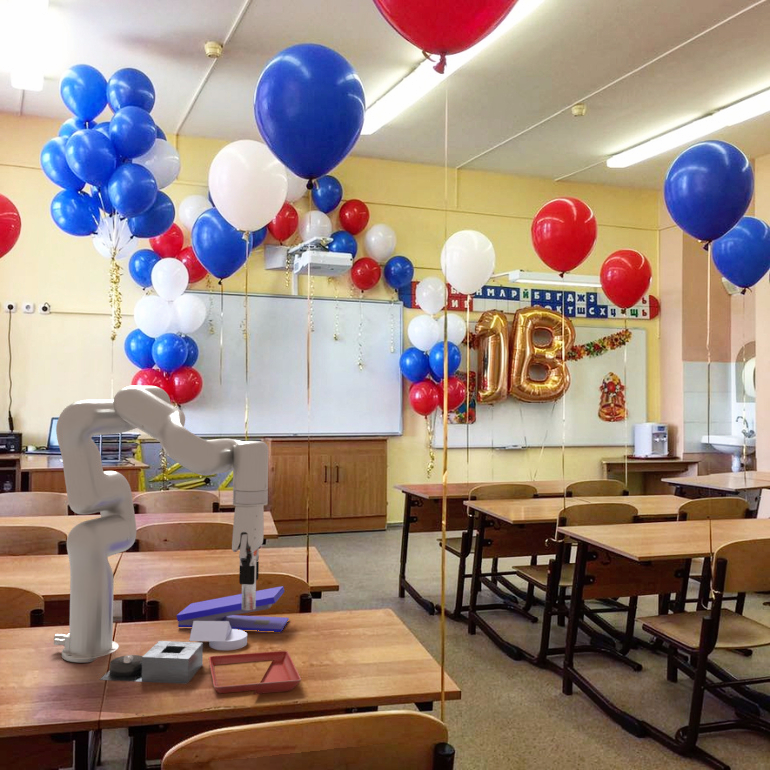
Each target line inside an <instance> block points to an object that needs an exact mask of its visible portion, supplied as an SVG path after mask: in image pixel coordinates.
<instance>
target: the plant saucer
mask: <svg viewBox="0 0 770 770" xmlns="http://www.w3.org/2000/svg"><path fill="white" fill-rule="evenodd" d="M271 660H272V661H271ZM260 661H271V663H270V665H269V666H268V668H267V670H266V671H265V673H264V675H263V677H262V678H261V680H260V682H253V683H242V684H241V683H240V684H231V685H219V684H218V681H217V676H216V671H215V670H216V669H215V666H216V665H226V664H227V665H228V664H238V663H249V662H251V663H252V662H260ZM208 663H209V667H210V668H209V669H210V674H211V678H212V683H213V688H214V690H215V691H216V692H217V693H218V694H228V693H239V692H249V691H254V693H253V695H259V694H260V695H261V694H271V693H280V692H290V691H292V690H293V689H294V688H296V687H297V685H298V684H300V682H301V680H302V678H301V676H300V674H299V671H298V669H297V668H296V666H295V665H296V664H295V663H294V661H293V659H292V656H291V655H290V653H289V651H287V650H277V651H264V652H262V651H261V652H250V653H249V652H247V653H238V654H237V653H234V654H233V653H232V654H222V655H221V654H220V655H211V656H209V657H208Z"/></svg>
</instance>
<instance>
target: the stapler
mask: <svg viewBox="0 0 770 770" xmlns="http://www.w3.org/2000/svg"><path fill="white" fill-rule="evenodd" d="M284 593H285V588H284V585H283V586H276V587H270V588H266V589H260V590H256V608H255V609H254V610H242V593H238V594H235V595H228V596H223V597H218V598H213V599H207V600H202V601H196V602H192V603H190V604H189V605H187V606H186V607H184V608H183V609H182V610H181V611H179V613H177V614H176V620H177V622H178V623H177V627H192V626H193V622H194V621H229V623H230V626H231V628H232V629H239V630H257V631H258V630H259V631H274V632H281V631H282V630H284V629H285V628H284V626H285V625H286V623H287V621H288V620H290V618H289V617H282V616H281V617H280V616H279V617H278V616H263V615H262V616H261V615H260V616H259V615H258V616H257V615H241V614H246V613H247V614H248V613H252V612H257V611H263V610H265V611H266V610H270V609H271V607H272V606H273V605H274V604H276V603H277V602H278V601H279V599H280V598H281V597H282V595H283V594H284ZM287 624H288V623H287ZM286 626H287V625H286ZM286 626H285V627H286ZM283 628H284V629H283ZM282 632H283V631H282ZM282 632H281V633H282Z"/></svg>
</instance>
